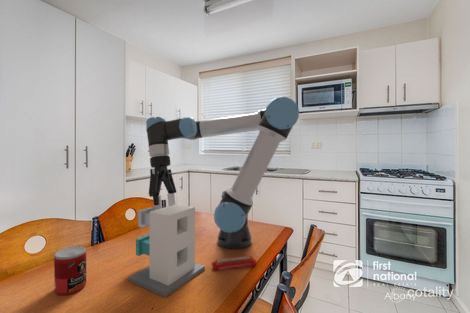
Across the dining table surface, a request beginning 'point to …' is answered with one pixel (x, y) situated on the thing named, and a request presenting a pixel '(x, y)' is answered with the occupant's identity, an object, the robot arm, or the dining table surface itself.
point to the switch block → (170, 250)
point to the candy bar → (233, 263)
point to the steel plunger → (145, 217)
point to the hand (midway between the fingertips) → (166, 211)
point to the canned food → (70, 270)
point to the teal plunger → (143, 245)
